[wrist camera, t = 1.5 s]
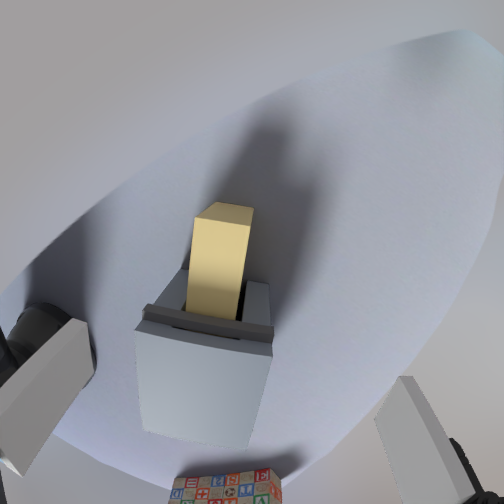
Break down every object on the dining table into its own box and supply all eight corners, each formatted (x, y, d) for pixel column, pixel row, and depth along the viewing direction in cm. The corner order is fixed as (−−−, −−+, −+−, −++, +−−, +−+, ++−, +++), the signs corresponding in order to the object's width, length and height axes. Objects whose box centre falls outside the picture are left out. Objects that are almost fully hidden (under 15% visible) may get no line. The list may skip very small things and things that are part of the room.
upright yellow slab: (201, 319, 34) (181, 371, 25) (215, 201, 30) (195, 217, 21) (234, 325, 34) (225, 379, 25) (254, 207, 30) (250, 226, 21)
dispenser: (174, 354, 36) (142, 429, 23) (180, 262, 32) (134, 320, 19) (251, 368, 36) (246, 450, 23) (270, 277, 32) (274, 347, 19)
